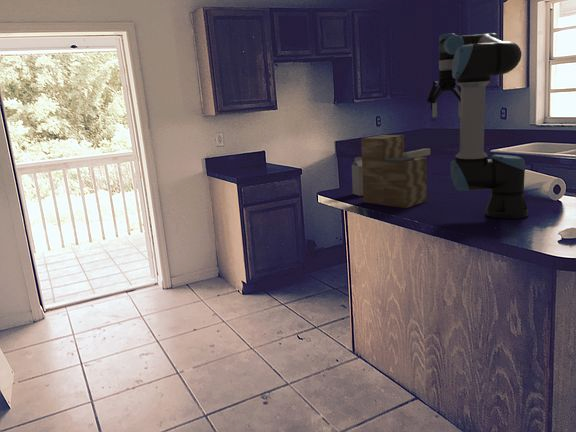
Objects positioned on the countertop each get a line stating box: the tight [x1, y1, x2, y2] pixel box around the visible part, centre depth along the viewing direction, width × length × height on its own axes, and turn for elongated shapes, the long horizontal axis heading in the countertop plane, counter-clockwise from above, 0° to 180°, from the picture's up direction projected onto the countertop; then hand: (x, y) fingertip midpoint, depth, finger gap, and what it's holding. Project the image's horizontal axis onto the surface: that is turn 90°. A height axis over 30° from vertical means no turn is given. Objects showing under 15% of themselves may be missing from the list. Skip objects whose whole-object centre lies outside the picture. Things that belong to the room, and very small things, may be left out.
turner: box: [383, 148, 431, 163], centre depth 225 cm, size 27×10×3 cm, turn 131°
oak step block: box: [361, 134, 428, 209], centre depth 228 cm, size 16×24×30 cm, turn 41°
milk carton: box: [351, 156, 363, 197], centre depth 252 cm, size 7×7×19 cm
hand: (447, 116), depth 233 cm, fingers open, 13 cm apart
